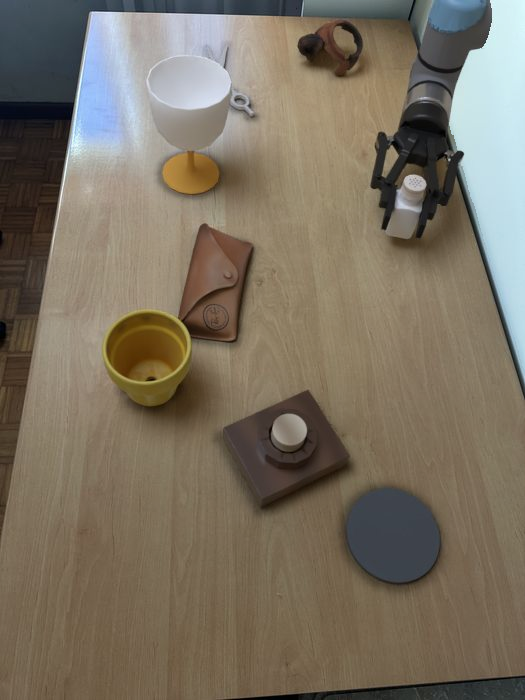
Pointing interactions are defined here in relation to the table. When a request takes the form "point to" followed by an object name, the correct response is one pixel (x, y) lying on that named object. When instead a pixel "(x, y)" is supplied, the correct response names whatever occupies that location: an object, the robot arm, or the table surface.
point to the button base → (278, 466)
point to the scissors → (234, 93)
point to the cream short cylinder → (288, 432)
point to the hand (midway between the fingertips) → (403, 227)
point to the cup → (189, 116)
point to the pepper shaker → (406, 207)
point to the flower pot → (147, 355)
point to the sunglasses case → (214, 285)
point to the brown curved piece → (331, 44)
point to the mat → (392, 535)
